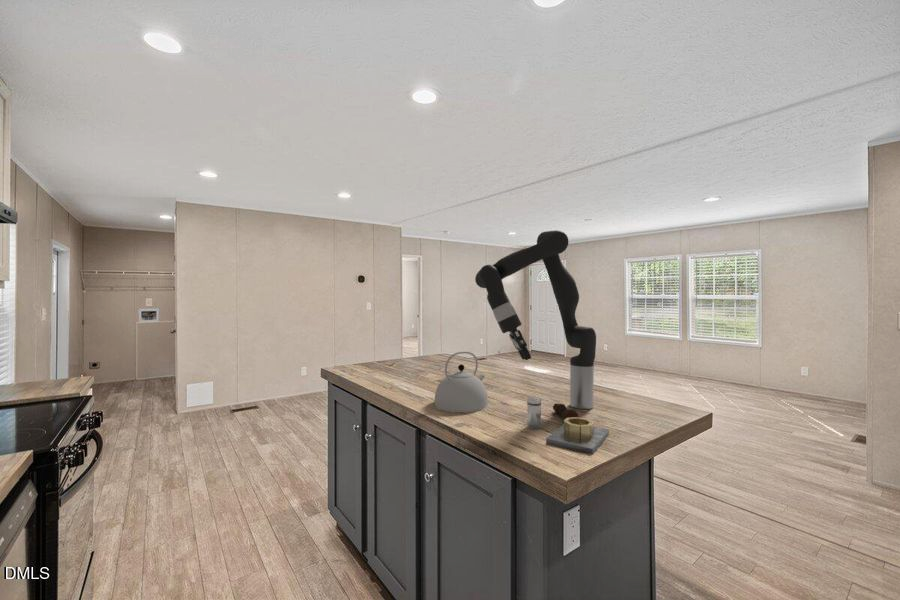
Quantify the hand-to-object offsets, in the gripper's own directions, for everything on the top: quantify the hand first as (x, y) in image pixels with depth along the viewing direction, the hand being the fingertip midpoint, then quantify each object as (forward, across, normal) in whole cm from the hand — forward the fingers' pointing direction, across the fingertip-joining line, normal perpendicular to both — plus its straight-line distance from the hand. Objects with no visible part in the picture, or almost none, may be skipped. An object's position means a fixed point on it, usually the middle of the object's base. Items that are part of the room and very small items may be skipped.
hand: (526, 358), depth 136 cm
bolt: (+27, +14, -4) cm, 30 cm away
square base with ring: (+29, -8, -3) cm, 30 cm away
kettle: (+8, +29, +30) cm, 42 cm away
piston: (+22, +2, +8) cm, 24 cm away
